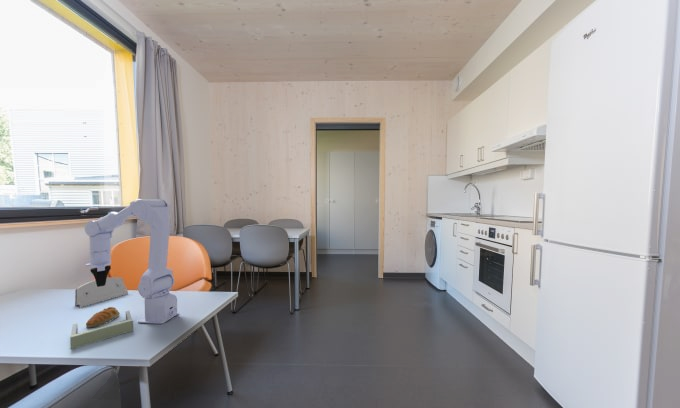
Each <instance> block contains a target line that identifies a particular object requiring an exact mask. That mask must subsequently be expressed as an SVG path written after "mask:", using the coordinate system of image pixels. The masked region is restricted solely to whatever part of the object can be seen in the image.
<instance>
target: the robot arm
mask: <svg viewBox="0 0 680 408" xmlns="http://www.w3.org/2000/svg"><path fill="white" fill-rule="evenodd" d="M170 208H171V206H170V204H169V203H168V202H167V201H166V200H165V199H162V198H160V199H159V198H158V199H141V198H137V199H134V200H132V201H131V202H129V205H127V206H126V207H124V208H123V209H122V210H120V211H108V212H107V215H105V216H101V217H99V218H98V219H97V220H88V221H87V222H86V223H85V225H84V232H85V234H86V235H87V236H89V263H85V267H91V268H90V273H91V274H92V275H93V278H94V280H95V281H96V284H97V287H100V286H105V284H106V279H107V278H108V275H109V273H110V271H111V270H112V269H111V264H112V260H111V259H112V258H111V257H112V256H111V255H112V254H111V239H112V237H113V233H114V231H115V230H116V229H117V228H119V227H121V226H123V225H124V224H125V223H126V220H128V219H131V218H133V217H136V218H138V219H140V220H141V221H143V222H144V223H146V224H148V225H149V226H150V237H149V239H150V240H149V252H148V265H147V269H146V270H145V272H143V273H142V275H141V276H140V281H139V283H138V285H137V292H138V294H139V295H140V296H141V297H142V298H144V318H142V319H140V320H139V321H138V324H139V323H140V324H159V325H160V324H161V325H162V324H165V323H166V322H168V321H169V320H171V319H172V318H174V317H175V316H177V315H179V314H180V312H179V311H178V298H177V296H176V295H175V294H173V293H170V292H171V291H172V290H171V289H172V288H173V287H174V285H175V278H174V274H173V273H174V272H173V270H172V269H171V268H169V267H168V266H167V265H168V253H169V242H170V241H169V240H170V228H171V219H170V210H171V209H170Z"/></svg>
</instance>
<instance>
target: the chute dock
mask: <svg viewBox="0 0 680 408" xmlns="http://www.w3.org/2000/svg"><path fill="white" fill-rule="evenodd" d="M78 328H79V327H78V323H74V324H72V329H71V335H70V341H69V343H70V350H73V349H76V348H80V347H83V346H87V345H90V344H93V343H96V342H100V341H104V340H107V339H110V338H113V337H117V336H120V335H123V334H126V333H129V332H133V331H134V320H133V317H132V314H131V312H130V310H126V311H125V320H123V321H120V322H115V323H112V324H108V325H105V326H100V327H97V328H93V329H90V330H87V331H82V332H79V331H78ZM86 344H87V345H86Z"/></svg>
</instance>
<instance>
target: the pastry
mask: <svg viewBox="0 0 680 408" xmlns="http://www.w3.org/2000/svg"><path fill="white" fill-rule="evenodd" d="M119 315H120V312H119V310H118V309H117V308H116V307H114V306H110V307H107V308H103V310H101V311H97V312H96V313H94V314H93V315H92V316H90V318H89V319H88V320H87V322H86V323H85V326H86V328H95V327H99V325H100V326H102V325H104V323H105V324H107V323H109V322H111V321H113V320H115V319H116V318H118V316H119ZM114 318H115V319H114ZM112 319H113V320H112ZM110 320H111V321H110ZM106 322H107V323H106ZM101 324H102V325H101Z"/></svg>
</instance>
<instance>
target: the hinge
mask: <svg viewBox="0 0 680 408" xmlns="http://www.w3.org/2000/svg"><path fill="white" fill-rule="evenodd" d="M122 295H123V296H125V295H129V291H128V289H127V287H126V284H125V282H124V280H123V278H122V277H121V276H120V277H117V276H115V277H113V276H110V277H107V279H106V284H105V286H100V287H97V284H96V281H95V279H94V280H92V281H89V282H86V283H84V284H82V285H80V286H77V287H76V288H75V291H74V306H79V308H80V307H81V308H84V307H87V305H88V306H91V305H94V303H95V304H98V303H101V302H100V301H102V302H104V300H105V301H109V300H112V299H116V298H118V297H119V298H120V297H122ZM115 297H116V298H115ZM111 298H112V299H111ZM108 299H109V300H108ZM97 302H98V303H97ZM90 304H91V305H90ZM83 306H84V307H83Z"/></svg>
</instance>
